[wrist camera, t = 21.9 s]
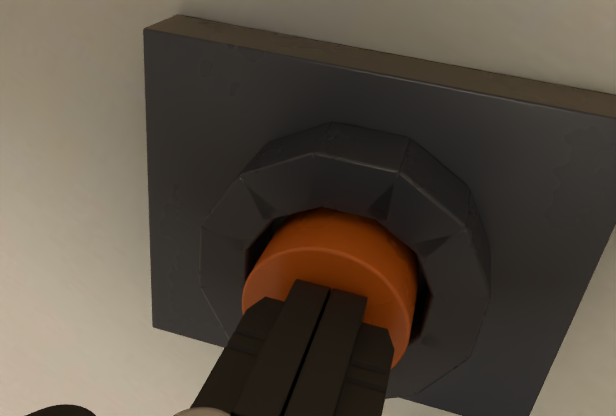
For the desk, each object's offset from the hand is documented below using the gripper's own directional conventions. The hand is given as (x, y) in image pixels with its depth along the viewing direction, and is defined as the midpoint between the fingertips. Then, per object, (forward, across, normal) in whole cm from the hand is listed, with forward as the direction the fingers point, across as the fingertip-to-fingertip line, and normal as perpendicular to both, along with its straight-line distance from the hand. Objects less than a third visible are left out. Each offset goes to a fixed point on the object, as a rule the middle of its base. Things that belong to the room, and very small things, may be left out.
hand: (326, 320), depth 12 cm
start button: (+2, 0, 0) cm, 2 cm away
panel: (+5, 0, 0) cm, 5 cm away
